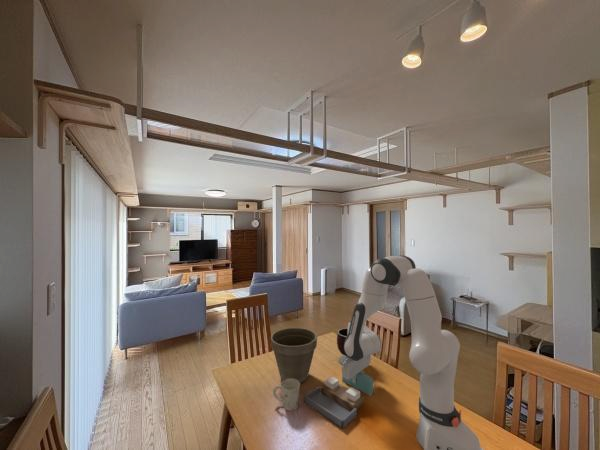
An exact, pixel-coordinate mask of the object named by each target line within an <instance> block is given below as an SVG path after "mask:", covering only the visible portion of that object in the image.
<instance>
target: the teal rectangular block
mask: <svg viewBox="0 0 600 450" xmlns="http://www.w3.org/2000/svg"><path fill="white" fill-rule="evenodd" d="M342 371H343V366H342V369H341V372H342ZM341 376H342V375H341ZM355 378H356V379H357V382H356V383H353V382H352V378H351V379H350V380H347V379H345V378H344V377H343V376H342V382H343V383H346V384H347V385H349V386H350V387H353V388H355V389H356V390H358V391H360V392H363V393H364V394H366V395H367V396H368V395H369V396H371V395H372V394H373V393H374V378H373V377H371V376H369V375H367V374H365V373H364V372H363V373H361V372H359V373H358V374H356V377H355Z"/></svg>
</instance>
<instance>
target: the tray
mask: <svg viewBox="0 0 600 450" xmlns="http://www.w3.org/2000/svg"><path fill="white" fill-rule="evenodd" d="M320 390H321V386H319V385H318V386H317V387H315V388H314V389H312V390H310V391H309V392H307V393H306V394H305V395H303V402H304V404H305V405H307V406H309V407H310V408H311V409H313V410H315V412H318V413H319V414H320V415H322V416H323V417H324V418H326V419H327V420H329V421H330V422H332V423H333V424H334V425H336V426H338V427H339V428H340V429H341V430H344V429H345V428H346V427H347V426H348V425H349V424H350V423H351V422H352V421H353V420H355V418H357V416H358V415H357V413H358V412H357V411H358V410H357V409H356V408H354V409H353V410H352V411H350V410H348V409H347V408H345V407H343V406H342V405H340V404H338V403H337V402H335V401H334V400H332V399H330V398H329V397H327V396H325V395H324V394H322V393H321V391H320Z"/></svg>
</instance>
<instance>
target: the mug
mask: <svg viewBox="0 0 600 450" xmlns="http://www.w3.org/2000/svg"><path fill="white" fill-rule="evenodd" d="M300 387H301V383H300V382H299V381H298V380H296V379H293V378H290V379H286V380H284V381H283V380H282V381H281V384H280V385H276V386H275V387H273V390H272V394H273V397H274V398H275V399H276V400H277V401H278V402H279V401H280V402H283V407H284V409H285V410H286V411H288V412H293V411H296V410H297V409H298V406H299V397H300ZM279 389H281V392H282V393H281V394H282V398H280V397H279V396H278V395H277V390H279Z"/></svg>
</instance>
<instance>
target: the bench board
mask: <svg viewBox="0 0 600 450" xmlns="http://www.w3.org/2000/svg"><path fill="white" fill-rule="evenodd" d="M348 389H349V388H348V387H346V386H344V385H342V384H341V383H339V385H338V386H337V387H336V388H334V389H331V388H329V387H327V386H326V385H325V384H323V385H322V386H320V390H321V391H320V393H322V394H324V395H325V396H327V397H329V398H330V399H332V400H334V401H335V402H337V403H338V404H340V405H342V406H343V407H345V408H347V409H348V410H350V411H352V410H353V409H354V408H356V409H357V411H358V410H359V409H360V408H361V407H362V406H363V405H364V396H363V395H361V394H360V398H359V399H357V400H356V401H355V402H354V401H352V400H350V399H348V398H347V397H346V391H347V390H348Z"/></svg>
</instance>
